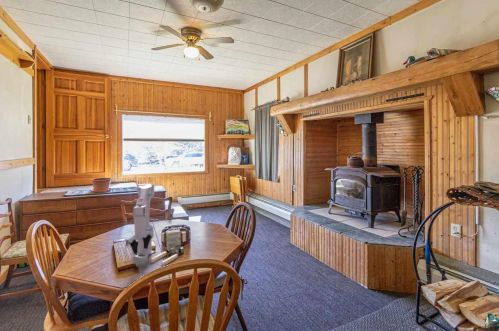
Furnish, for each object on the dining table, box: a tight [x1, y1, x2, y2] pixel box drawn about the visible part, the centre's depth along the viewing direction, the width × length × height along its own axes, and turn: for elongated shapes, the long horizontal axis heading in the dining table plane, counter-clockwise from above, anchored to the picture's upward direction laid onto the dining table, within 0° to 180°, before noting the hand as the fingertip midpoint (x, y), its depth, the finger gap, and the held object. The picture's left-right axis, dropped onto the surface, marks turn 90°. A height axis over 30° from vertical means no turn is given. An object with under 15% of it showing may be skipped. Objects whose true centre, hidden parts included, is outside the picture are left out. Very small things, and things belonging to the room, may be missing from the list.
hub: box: [133, 253, 149, 269], centre depth 148 cm, size 5×5×6 cm
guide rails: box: [149, 251, 179, 267], centre depth 155 cm, size 10×12×2 cm
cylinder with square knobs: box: [168, 245, 185, 256], centre depth 164 cm, size 6×8×4 cm
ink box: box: [165, 229, 182, 252], centre depth 172 cm, size 9×5×12 cm, turn 117°
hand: (140, 250), depth 147 cm, fingers open, 7 cm apart
